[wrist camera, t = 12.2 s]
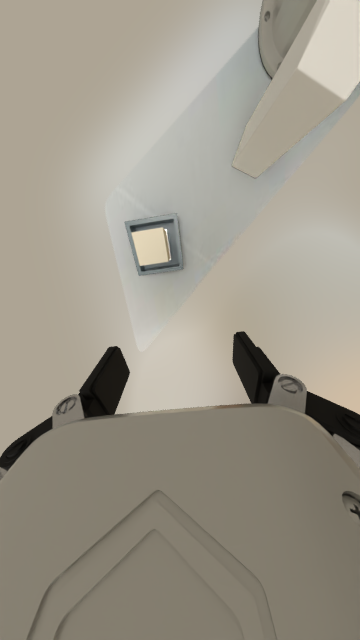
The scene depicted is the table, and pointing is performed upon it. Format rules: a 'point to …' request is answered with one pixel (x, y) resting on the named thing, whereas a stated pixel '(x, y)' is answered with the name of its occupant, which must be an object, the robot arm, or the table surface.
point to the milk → (304, 85)
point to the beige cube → (151, 246)
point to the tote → (173, 230)
